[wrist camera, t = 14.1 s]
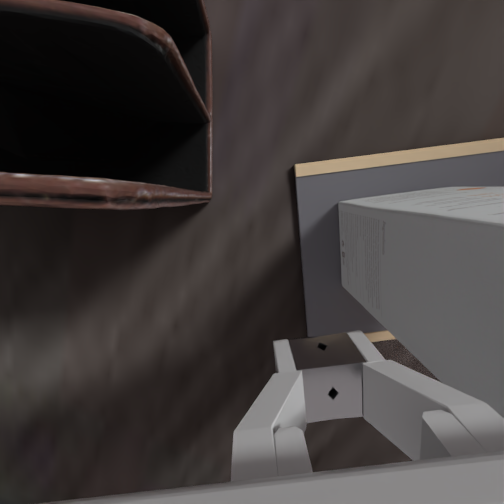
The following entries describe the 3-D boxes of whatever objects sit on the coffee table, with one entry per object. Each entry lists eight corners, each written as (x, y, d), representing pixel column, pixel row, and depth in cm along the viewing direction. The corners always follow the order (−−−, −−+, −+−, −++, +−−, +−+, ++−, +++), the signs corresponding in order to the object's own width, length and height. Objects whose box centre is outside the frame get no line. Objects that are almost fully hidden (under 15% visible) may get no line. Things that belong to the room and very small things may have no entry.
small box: (339, 286, 19) (530, 483, 6) (336, 200, 17) (577, 229, 5) (448, 272, 19) (862, 443, 6) (453, 185, 17) (1019, 173, 5)
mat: (530, 134, 17) (538, 133, 16) (505, 321, 20) (512, 324, 20) (293, 165, 17) (295, 164, 17) (308, 345, 20) (309, 349, 20)
